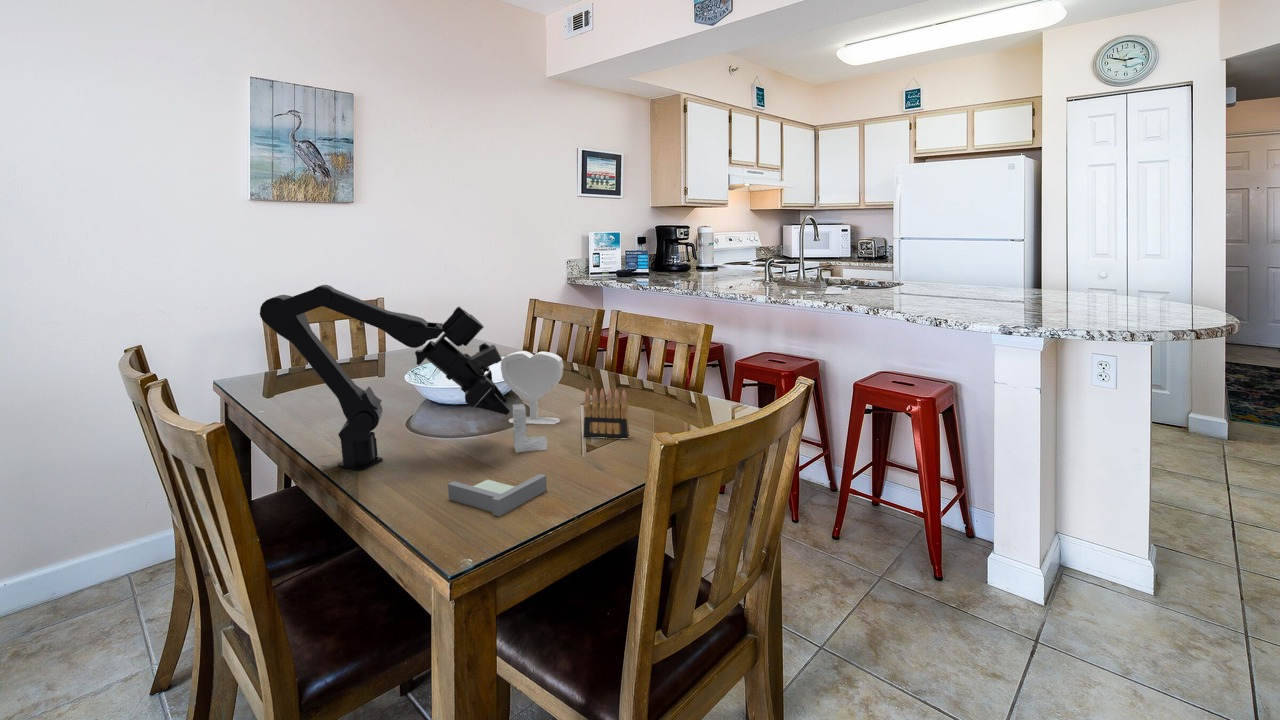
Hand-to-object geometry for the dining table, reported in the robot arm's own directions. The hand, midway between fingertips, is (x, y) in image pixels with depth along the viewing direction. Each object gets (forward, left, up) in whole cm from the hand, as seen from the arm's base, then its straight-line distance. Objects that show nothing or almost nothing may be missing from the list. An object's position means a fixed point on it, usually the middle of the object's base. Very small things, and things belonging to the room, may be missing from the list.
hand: (506, 407), depth 140 cm
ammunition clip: (+16, -17, -10) cm, 25 cm away
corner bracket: (-22, -11, -10) cm, 27 cm away
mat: (-21, -10, -10) cm, 25 cm away
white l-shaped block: (+3, -4, -10) cm, 11 cm away
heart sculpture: (+22, +6, -10) cm, 25 cm away
